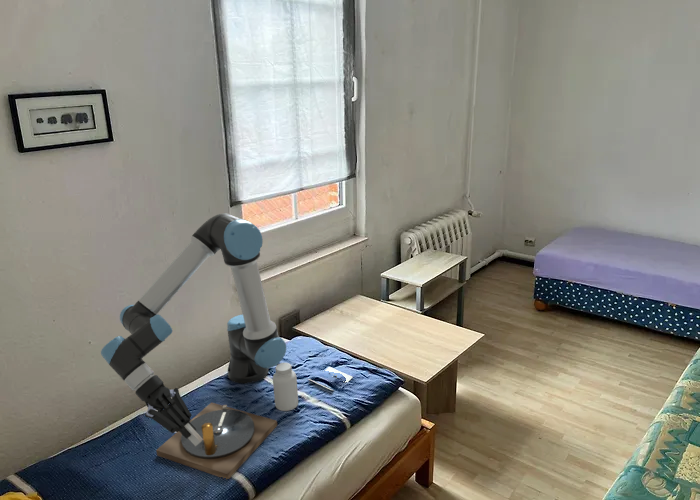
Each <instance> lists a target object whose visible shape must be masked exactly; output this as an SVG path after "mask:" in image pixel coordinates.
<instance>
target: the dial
mask: <svg viewBox="0 0 700 500" xmlns="http://www.w3.org/2000/svg"><path fill="white" fill-rule="evenodd" d="M237 410H238V409H237ZM237 410H230V409H225V410H216V411H212V412H208V413H206V414H203V415H201V416H199V417H197V418H195V419H194V420H192V419H191V420H192V421H191V422H190V423H191V424H192V425H193V426H194V427H195V428H196V432H197V433H198V434H199V435H200V436H201V438H202V439H203V440H202V441H201V442H200V443H199V444H198V445H197V446H195V445H194V444H193V443H192V442H191V441H190V440H189V439H188V438H187V439H186V438H185V437H184V436H183V435H182V436H181V442H182V446H183V448H184V450H185V451H186V452H187V453H188V454H190V455H192V456H194V457H198V458H203V459H214V458H221V457H225V456H228V455H231V454H233V453H235V452H237V451H239V450H240V449H242V448H243V447H245V446H246V445H247V444H248V443H249V442H250V440H251V439H252V437H253V435H254V422H253V420H252V419H251V417H250V416H248V415H247V414H246V413H243V412H241V411H242V410H241V411H237Z"/></svg>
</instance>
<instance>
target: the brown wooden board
mask: <svg viewBox="0 0 700 500" xmlns="http://www.w3.org/2000/svg"><path fill="white" fill-rule="evenodd" d="M225 409H230V410H237V411H241V412H243V413H246V414H247V415H248V416H250V417H251V419H252V420H253V422H254V435H253V437H252V439H251V440H250V442H249V443H248V444H247V445H246V446H245V447H243V448H242V449H240V450H239V451H237V452H235V453H233V454H231V455H228V456H225V457H221V458H214V459H203V458H198V457H194V456H192V455H190V454H188V453H187V452H186V451H185V450H184V448H183V446H182V442H181V436H182V434H181V433H180V432H179V431H178V432H174V433H173V435H172V436H171V437H169V438H168V439H167V440H166V441H165V442H164V443H163V444H161V445H160V446H159V447H158V448H157V449H156V450H155V451H156V456H158V457H161V458H163V459H166V460H168V461H171V462H175V463H178V464H180V465H184V466H186V467H189V468H192V469H195V470H198V471H201V472H205V473H206V474H210V475H213V476H216V477H218V478H221V477H223V478H222V479H224V478H226V479H225V480H227V479H231V478H232V477H233V475H234V474H235V473H236V472H237V471H238V469H239V468H241V467H242V465H244V463H245V462H246V461H247V460H248V459H249V458H250V456H251V455H252V454H253V453H255V451H256V450H257V449H258V447H259V446H260V445H262V443H263V442H264V441H266V439H267V438H268V437H269V435H270V434H271V433H272V432H273V431H274V430H275V429H276V428H277V426H278V419H277V420H276V419H274V418H273V419H272V418H270V417H267V416H262V415H259V414H255V413H251V412H247V411H244V410H241V409H237V408H233V407H230V406H228V404H220V403H215V402H210V403H209V404H207V405H206V406H205V407H204V408H203V409H202V410H201V411H200V412H198V413H197V414H196V415H195V416H194V417H193V418H192V419H191V420H190V422H191V421H192V420H194V419H195V418H197V417H199V416H201V415H203V414H206V413H208V412H212V411H216V410H225Z"/></svg>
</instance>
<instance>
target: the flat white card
mask: <svg viewBox="0 0 700 500" xmlns="http://www.w3.org/2000/svg"><path fill="white" fill-rule="evenodd" d="M324 371H329V372H334V373H340V374H342V375H343V376H344V377H345V378H346V381H345V382H344V383H346V382H347V383H348V382H349V381H351V379H353V376H352V375H349V374H347V373H345V372H342V371H340V370H337V369H336V368H333V367H331V366H328V367H327V368H326V369H325V370H324ZM333 375H334V374H333ZM336 377H337V375H336ZM308 381H311V382H314V383H315V384H317V385H319V386H322V387H323V388H326V389H327V390H330V391H335V390H333V389H331V388H329V387H327V386H325V385H323V384H321V383H319V382H317V381H315V380H312V379H310V378H309V379H308Z"/></svg>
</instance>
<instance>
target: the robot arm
mask: <svg viewBox="0 0 700 500" xmlns="http://www.w3.org/2000/svg"><path fill="white" fill-rule="evenodd" d="M263 242H264V241H263V234H262V233H261V230H260V229H259V228H258V226H257V225H255V224H253V222H250V221H249V220H246V219H243V218H240V217H237V216H234V215H233V214H230V213H219V214H216V215H213V216H212V217H210V218H209V219H207V220H206V221H205V222H204V223H203V224H201V225H200V227H198V228H197V229H196V231H194V233H193V234H192V235H191V236H190V242H189V243H188V244H187V245H186V247H184V249H183V250H182V251H181V252H180V254H178V256H176V258H175V259H174V260H172V262H171V263H170V264H169V265H168V267H166V268H165V270H164V271H163V272H162V273H161V274H160V275H159V277H158V278H157V279H156V280H155V281H154V282H153V284H151V285H150V287H149V288H148V289H147V290H146V291H144V293H143V295H141V297H140V298H139V299H138V300H137V301H136V302H135V304H129V305H126V306H125V307H123V308H122V310H121V311H120V314H119V322H120V323H121V324H122V326H123V328H124V330H126V331H127V332H129V333H130V335H129V336H127V337H125V338H124V337H123V336H122V335H119V336H115V337H114V338H113V339H112V340H110V341H109V342H107V343H106V344H105V345H104V346H103V347H102V348H101V350H100V354H101V356H102V358H103V359H104V361H106V363H107V364H108V366H110V367H111V368H112V369H113V371H114V372H115V373H116V374H117V375H118V376H119V377H120V378H121V379H122V380H123V382H125V384H126V385H127V386H128V387H129V388H130V389H131V391H135V394H136V396H137V397H138V398H139V400H140V401H142V402H144V403H145V405H146V407H147V411H146V413H145V414H144V416H145V417H146V418H149V419H152V420H153V421H155V422H156V423H157V424H159V425H160V426H162V427H163V428H165V429H166V430H168V431H169V432H170V433H171V434H175V433H177V432H178V431H179V432H180V433H181V434H182V435H183V436H184V437H185V438H186V439H187V438H188V439H189V440H190V441H191V442H192V443H193V444H194V445H195V446H197V445H198V444H199V443H200V442H201V441H202V440H203V439H202V438H201V436H200V435H199V434H198V433H197V432H196V428H195V427H194V426H193V425H192V424H191V423H190V420H192V419H191V417H192V413H191V411H190V409H189V408H188V406H187V405H186V403H185V401H184V399H183V398H182V397H181V395H180V394H181V393H180V389H179V388H178V387H175V388H174V389H170V388H169V387H167V386H166V385H164V381H163V380H162V379H161V377H159V376H158V375H157V374H155V371H154V370H153V369H152V367H150V366H149V365H148V364H147V362H146V361H145V360H144V359H143V358H145V357H146V356H147V355H148V354H149V353H150V352H152V351H153V350H154V349H155V348H157V347H158V346H159V345H161V344H162V343H163V342H165V341H166V339H167V338H168V337H169V336H171V334H172V333H173V328H172V326H171V325H170V324H169V323H168V322H167V320H166V319H165V318H164V317H163V316H162V315H161V314H159V313H160V312H161V311H162V310H163V309H164V308H165V307H166V305H168V303H169V302H170V301H171V300H172V299H173V298H174V297H175V295H176V294H178V292H179V291H180V290H181V289H182V287H184V286H185V284H186V283H187V282H188V281H189V280H190V279H191V277H192V276H193V275H194V274H195V273H196V272H197V270H199V268H200V267H201V266H202V265H203V264H204V263H205V262H206V260H207V259H209V257H212V256H215V255H216V254H217V253H218V251H221V254H222V259H223V263H224V264H225V265H226V266H227V267H230V269H231V273H232V274H231V275H232V278H233V281H234V285H235V290H236V294H237V297H238V301H239V305H240V310H241V313H242V314H239V315H235V316H233V317H232V318H230V319H229V320H228V321H227V324H226V327H227V330H226V331H227V336H228V344H229V353H230V354H229V355H230V359H229V363H228V367H227V376H228V379H229V380H230V381H232V382H234V383H236V384H253V383H256V382H259V381H261V380H263V379H265V377H267V376H268V374H269V372H270V371H269V369H270V368H274V367H276V366H277V365H278V364H280V363H281V362H282V360H283V359H284V357H285V356H286V353H287V344H286V341H285V340H284V339H283V338H282V337H280V336H279V333H278V328H277V325H276V322H275V321H272V320H271V317H270V313H269V309H268V304H267V299H266V296H265V291H264V287H263V283H262V278H261V274H260V269H259V265H258V260H259V258H260V257H261V248H262V246H263ZM135 394H134V395H135Z"/></svg>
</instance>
